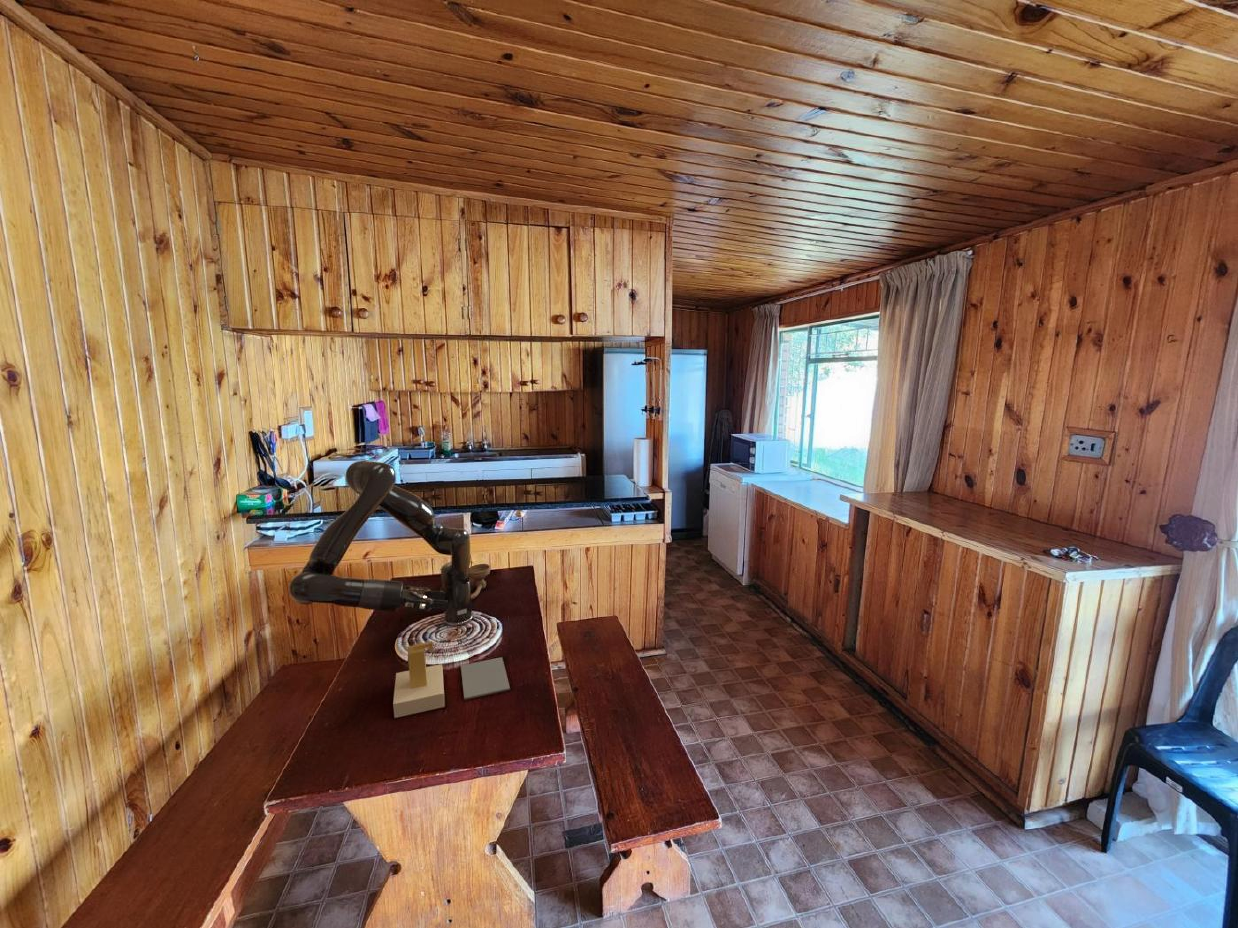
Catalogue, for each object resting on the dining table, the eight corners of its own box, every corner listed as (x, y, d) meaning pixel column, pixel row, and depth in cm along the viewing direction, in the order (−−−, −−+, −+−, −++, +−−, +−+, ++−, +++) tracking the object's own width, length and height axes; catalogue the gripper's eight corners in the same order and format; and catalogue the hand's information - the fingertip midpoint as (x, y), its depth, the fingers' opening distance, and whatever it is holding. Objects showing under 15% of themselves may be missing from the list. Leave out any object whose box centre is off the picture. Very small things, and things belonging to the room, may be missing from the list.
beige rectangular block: (397, 685, 140) (396, 672, 139) (443, 676, 144) (442, 663, 143) (394, 718, 127) (393, 703, 126) (444, 706, 131) (443, 693, 131)
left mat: (460, 667, 149) (460, 665, 149) (502, 658, 153) (502, 656, 153) (464, 700, 134) (464, 698, 134) (510, 689, 138) (509, 687, 138)
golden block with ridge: (411, 680, 136) (407, 642, 134) (435, 675, 138) (432, 638, 136) (410, 688, 132) (407, 650, 130) (435, 683, 135) (432, 645, 132)
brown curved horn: (434, 610, 186) (486, 604, 187) (430, 588, 184) (483, 582, 186) (449, 583, 209) (496, 577, 211) (446, 563, 208) (493, 558, 209)
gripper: (383, 587, 123) (451, 593, 129) (384, 573, 136) (446, 580, 142) (376, 618, 122) (445, 622, 129) (378, 601, 135) (440, 606, 142)
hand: (445, 600), depth 135 cm, fingers open, 8 cm apart
